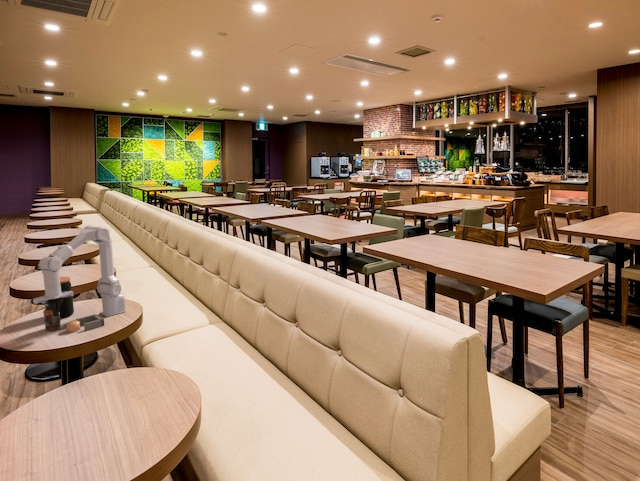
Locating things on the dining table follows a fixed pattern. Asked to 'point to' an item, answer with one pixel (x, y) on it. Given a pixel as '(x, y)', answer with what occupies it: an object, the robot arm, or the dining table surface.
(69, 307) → the coffee jar
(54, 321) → the supplement bottle
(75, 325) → the tan rounded knob
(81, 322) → the dock
